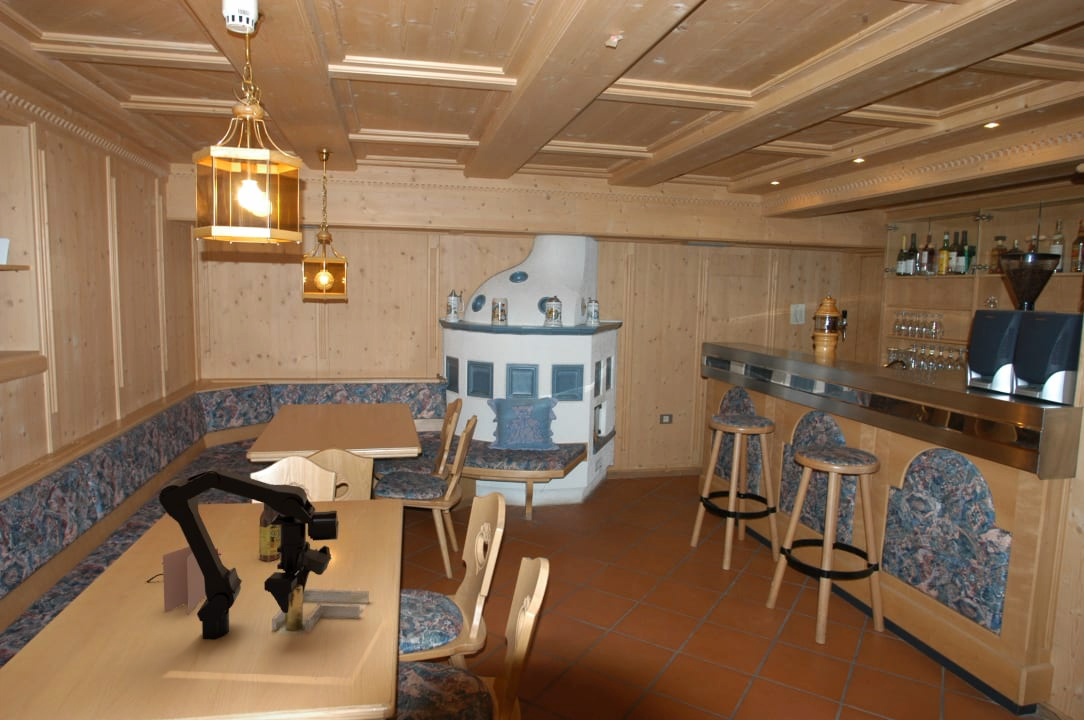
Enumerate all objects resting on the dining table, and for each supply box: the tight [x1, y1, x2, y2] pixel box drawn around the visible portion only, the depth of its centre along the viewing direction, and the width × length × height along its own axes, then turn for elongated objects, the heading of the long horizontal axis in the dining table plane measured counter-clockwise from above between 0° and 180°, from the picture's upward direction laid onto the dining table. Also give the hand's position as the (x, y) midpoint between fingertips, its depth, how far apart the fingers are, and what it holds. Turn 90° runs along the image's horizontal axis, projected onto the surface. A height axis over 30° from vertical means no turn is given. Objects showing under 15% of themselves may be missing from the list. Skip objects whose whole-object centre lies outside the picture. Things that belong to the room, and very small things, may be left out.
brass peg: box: [284, 584, 304, 631], centre depth 161 cm, size 4×4×10 cm
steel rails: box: [271, 588, 370, 633], centre depth 167 cm, size 16×18×3 cm
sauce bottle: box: [258, 503, 280, 562], centre depth 205 cm, size 7×6×20 cm
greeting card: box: [162, 545, 206, 616], centre depth 172 cm, size 11×7×15 cm, turn 152°
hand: (293, 603), depth 160 cm, fingers open, 9 cm apart
